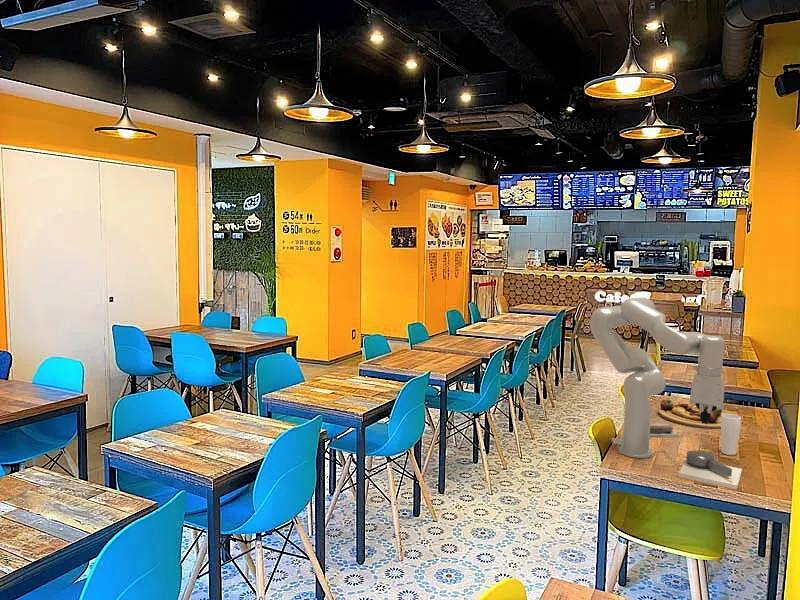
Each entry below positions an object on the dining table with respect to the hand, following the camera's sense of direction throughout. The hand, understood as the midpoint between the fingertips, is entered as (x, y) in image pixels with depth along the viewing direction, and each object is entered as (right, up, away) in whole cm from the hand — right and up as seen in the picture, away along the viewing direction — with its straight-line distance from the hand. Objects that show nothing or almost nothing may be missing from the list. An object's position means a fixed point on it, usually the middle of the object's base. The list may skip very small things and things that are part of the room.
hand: (704, 422), depth 210 cm
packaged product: (+1, -15, +48) cm, 50 cm away
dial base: (+3, -19, +3) cm, 20 cm away
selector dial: (+4, -17, +4) cm, 18 cm away
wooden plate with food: (+32, -13, +72) cm, 80 cm away
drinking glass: (+22, -17, +25) cm, 38 cm away
